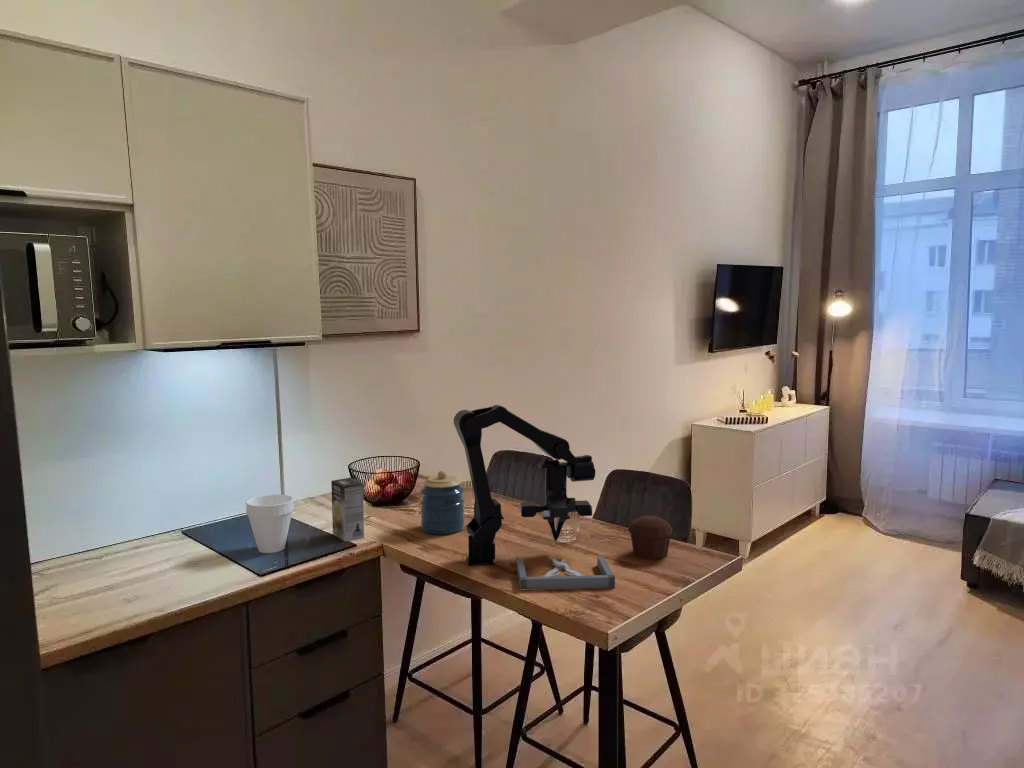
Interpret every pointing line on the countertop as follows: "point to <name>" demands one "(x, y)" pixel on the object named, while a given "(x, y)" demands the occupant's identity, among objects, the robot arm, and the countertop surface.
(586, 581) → the tool holder
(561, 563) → the pliers
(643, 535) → the muffin
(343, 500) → the coffee box
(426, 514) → the canister
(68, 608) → the countertop surface
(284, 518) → the white flower pot
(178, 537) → the countertop surface
